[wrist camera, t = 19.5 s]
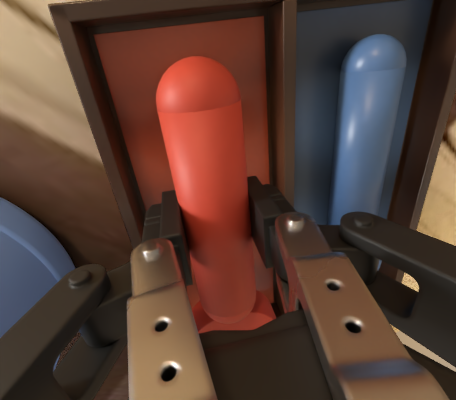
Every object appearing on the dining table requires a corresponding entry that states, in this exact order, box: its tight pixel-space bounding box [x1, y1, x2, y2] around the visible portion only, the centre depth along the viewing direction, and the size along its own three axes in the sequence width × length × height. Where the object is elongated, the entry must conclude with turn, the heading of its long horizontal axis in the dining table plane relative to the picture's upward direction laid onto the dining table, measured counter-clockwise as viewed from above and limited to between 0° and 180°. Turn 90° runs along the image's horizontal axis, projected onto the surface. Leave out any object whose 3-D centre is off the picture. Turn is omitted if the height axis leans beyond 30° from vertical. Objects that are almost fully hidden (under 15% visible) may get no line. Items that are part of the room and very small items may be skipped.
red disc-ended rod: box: [156, 56, 276, 333], centre depth 12 cm, size 17×5×3 cm, turn 6°
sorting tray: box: [48, 0, 456, 318], centre depth 17 cm, size 21×18×3 cm
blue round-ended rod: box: [328, 34, 407, 270], centre depth 16 cm, size 17×5×3 cm, turn 6°
